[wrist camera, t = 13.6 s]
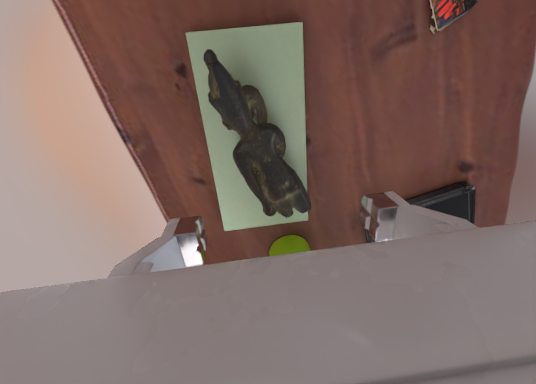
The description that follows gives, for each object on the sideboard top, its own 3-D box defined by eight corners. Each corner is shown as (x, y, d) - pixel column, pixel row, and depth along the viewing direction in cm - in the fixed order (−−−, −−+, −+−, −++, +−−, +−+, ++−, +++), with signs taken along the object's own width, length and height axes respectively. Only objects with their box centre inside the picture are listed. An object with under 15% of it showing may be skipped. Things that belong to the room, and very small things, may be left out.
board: (187, 34, 25) (185, 32, 24) (300, 23, 25) (302, 21, 24) (224, 226, 34) (224, 231, 33) (306, 215, 35) (308, 220, 33)
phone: (474, 229, 37) (373, 261, 38) (467, 224, 38) (370, 256, 39) (475, 182, 33) (365, 218, 34) (469, 178, 34) (362, 214, 35)
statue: (305, 188, 34) (227, 31, 23) (326, 210, 30) (242, 30, 18) (266, 213, 34) (166, 70, 23) (281, 239, 30) (167, 77, 18)
